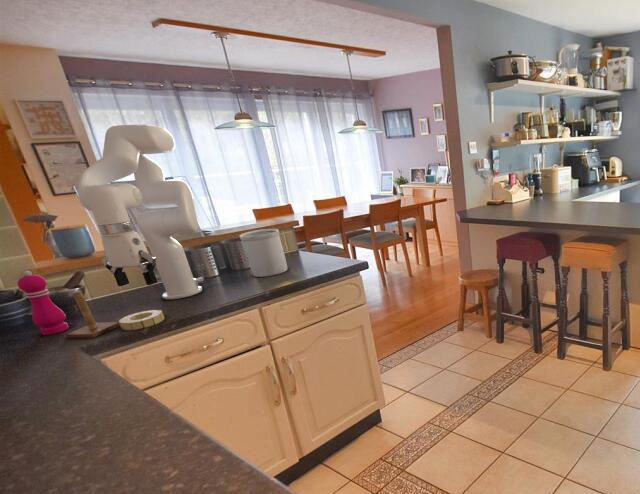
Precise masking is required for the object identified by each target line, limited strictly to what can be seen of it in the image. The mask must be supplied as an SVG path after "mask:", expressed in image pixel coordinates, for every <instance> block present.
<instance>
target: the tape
mask: <svg viewBox="0 0 640 494" xmlns="http://www.w3.org/2000/svg"><path fill="white" fill-rule="evenodd" d="M164 320H165V315H164V313H163V311H162V310H160V309H151V310H150V309H149V310H144V311H143V310H142V311H139V312H135V313H132V314H131V313H130V314H128V315H125V316H124V317H122V318H120V319H119V320H118V322H119V324H120V326H119V327H120V328H121V330H123V331H136V330H140V329H145V328H148V327H152V326H154V325H157V324H159V323H162V322H163V321H164Z"/></svg>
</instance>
